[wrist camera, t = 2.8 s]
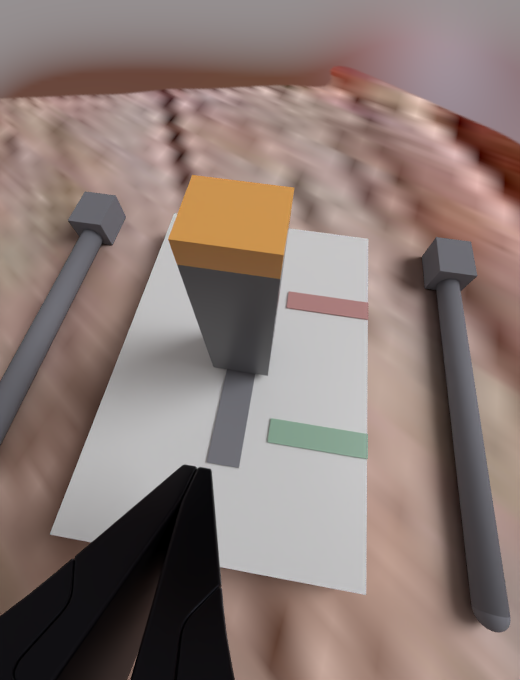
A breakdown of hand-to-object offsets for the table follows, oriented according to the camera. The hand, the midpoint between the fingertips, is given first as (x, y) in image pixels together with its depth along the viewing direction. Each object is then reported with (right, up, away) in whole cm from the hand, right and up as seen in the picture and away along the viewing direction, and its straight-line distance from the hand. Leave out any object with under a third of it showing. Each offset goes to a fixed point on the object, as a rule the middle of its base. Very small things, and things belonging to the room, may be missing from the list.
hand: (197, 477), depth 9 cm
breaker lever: (+1, +3, +8) cm, 9 cm away
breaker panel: (+1, +2, +10) cm, 11 cm away
